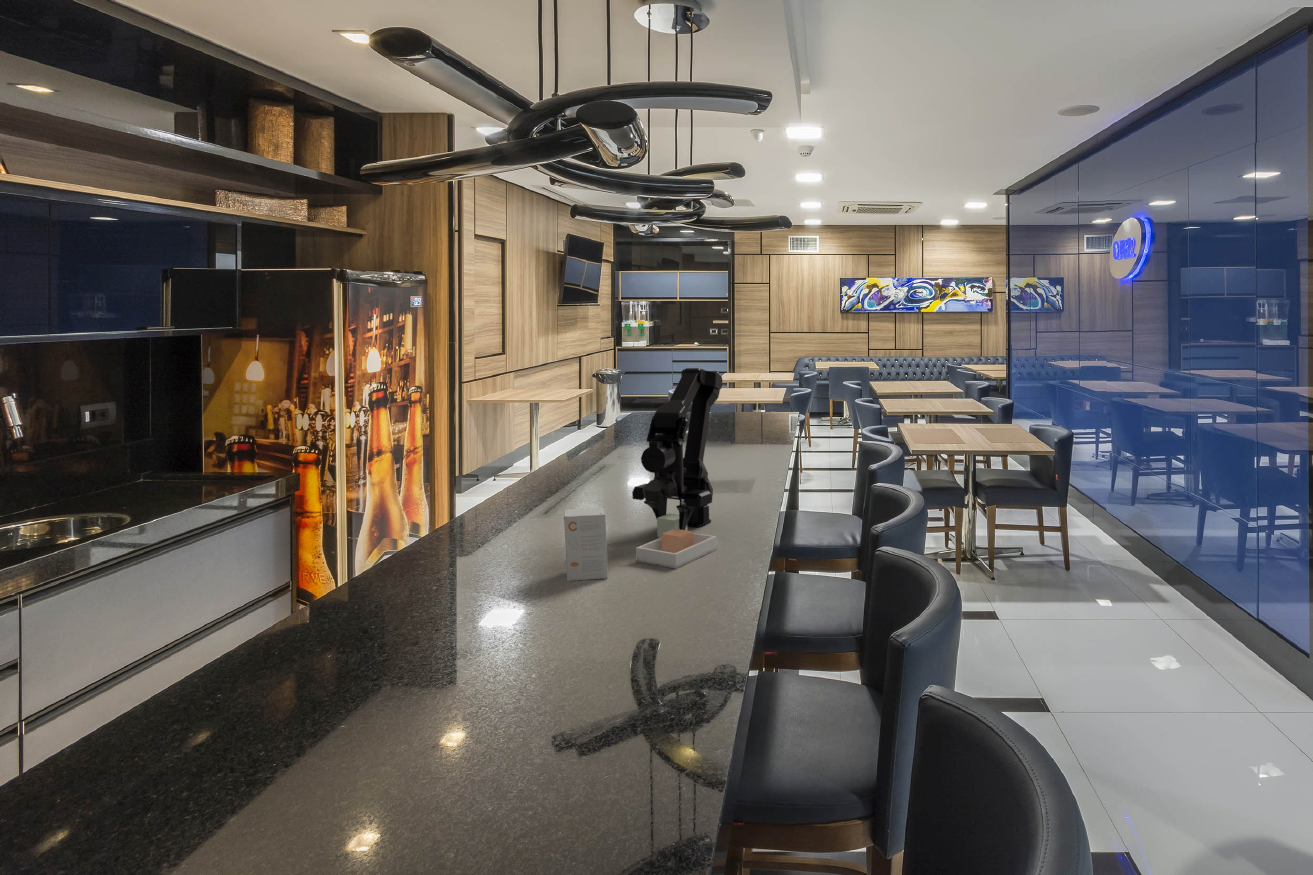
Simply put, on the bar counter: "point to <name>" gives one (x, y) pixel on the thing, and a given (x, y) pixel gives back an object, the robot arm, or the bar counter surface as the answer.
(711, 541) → the tote
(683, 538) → the brick
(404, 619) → the bar counter surface
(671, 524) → the pale green block
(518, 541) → the bar counter surface
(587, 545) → the small box
